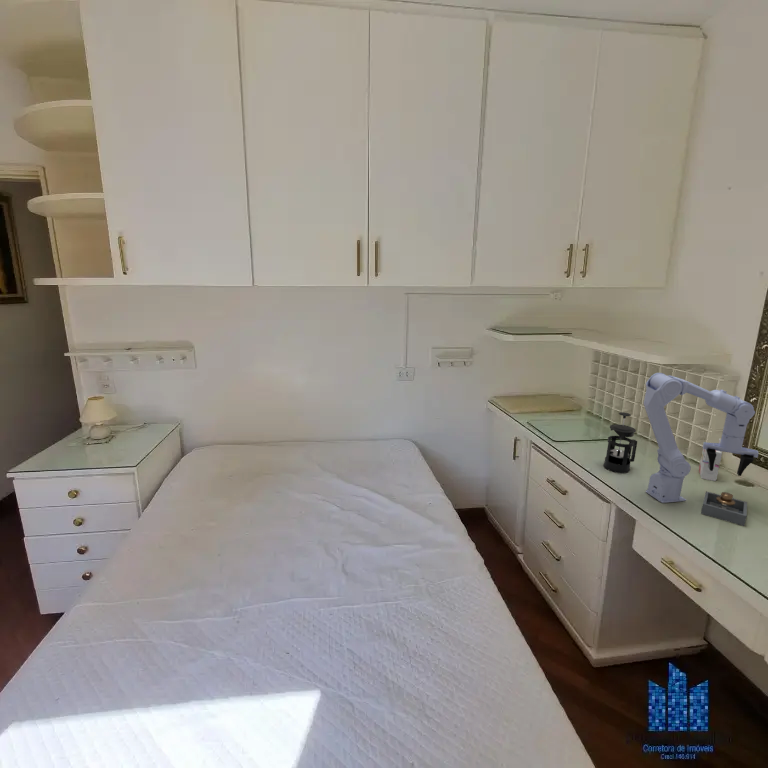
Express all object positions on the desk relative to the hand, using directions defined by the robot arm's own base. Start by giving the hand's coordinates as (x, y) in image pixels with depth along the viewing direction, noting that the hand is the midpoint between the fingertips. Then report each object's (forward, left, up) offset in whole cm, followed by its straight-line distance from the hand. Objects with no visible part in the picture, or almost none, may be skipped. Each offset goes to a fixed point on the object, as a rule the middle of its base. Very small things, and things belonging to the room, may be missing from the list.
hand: (724, 472), depth 147 cm
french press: (-18, +27, -11) cm, 35 cm away
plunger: (-6, -8, -10) cm, 14 cm away
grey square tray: (-6, -8, -10) cm, 14 cm away
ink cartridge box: (+12, +16, -11) cm, 23 cm away
